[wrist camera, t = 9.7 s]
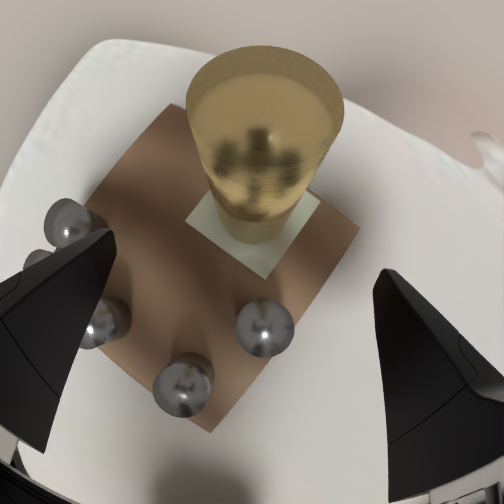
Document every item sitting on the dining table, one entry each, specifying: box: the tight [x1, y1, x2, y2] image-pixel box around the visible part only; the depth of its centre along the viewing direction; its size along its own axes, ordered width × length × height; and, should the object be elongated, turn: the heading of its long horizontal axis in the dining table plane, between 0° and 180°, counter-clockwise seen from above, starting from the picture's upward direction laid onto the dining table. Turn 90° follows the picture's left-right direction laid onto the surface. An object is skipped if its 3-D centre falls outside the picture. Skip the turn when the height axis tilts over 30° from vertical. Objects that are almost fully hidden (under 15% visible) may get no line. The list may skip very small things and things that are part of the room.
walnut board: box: [55, 104, 360, 433], centre depth 19 cm, size 18×17×1 cm
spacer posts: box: [23, 198, 295, 418], centre depth 17 cm, size 9×16×4 cm, turn 54°
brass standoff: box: [186, 46, 344, 245], centre depth 13 cm, size 4×4×12 cm
